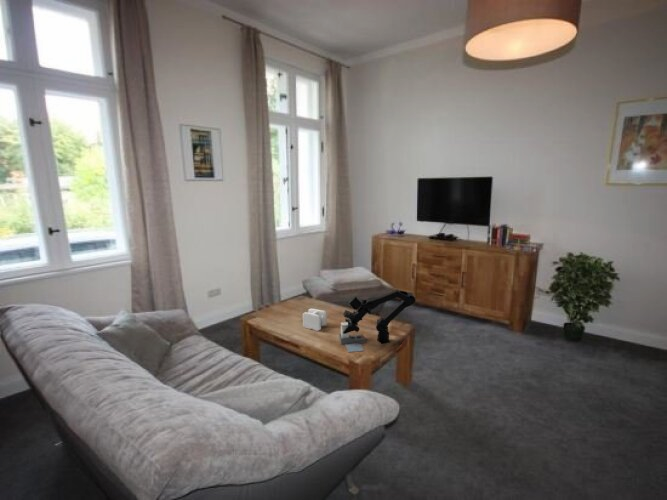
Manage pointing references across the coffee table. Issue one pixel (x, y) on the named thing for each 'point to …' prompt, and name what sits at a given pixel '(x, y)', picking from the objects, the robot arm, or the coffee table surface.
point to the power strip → (352, 339)
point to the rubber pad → (354, 347)
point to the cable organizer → (314, 319)
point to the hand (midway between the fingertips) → (342, 331)
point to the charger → (343, 327)
